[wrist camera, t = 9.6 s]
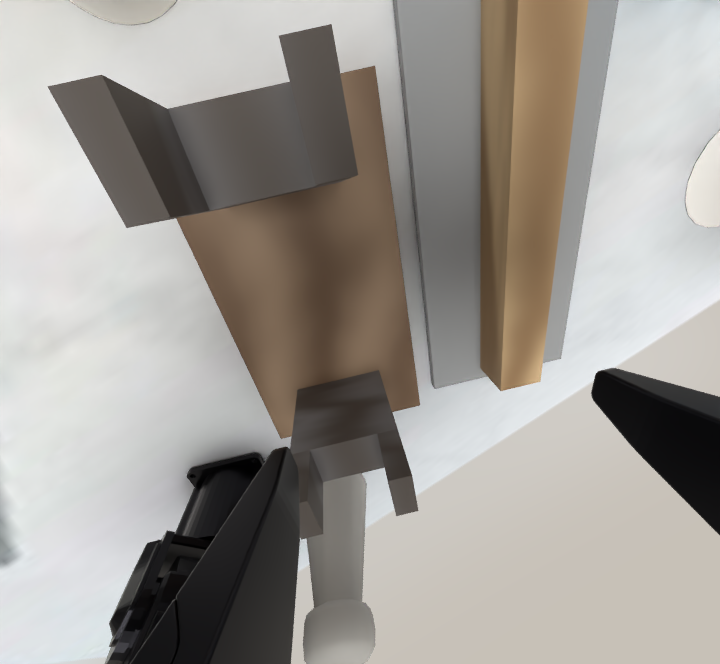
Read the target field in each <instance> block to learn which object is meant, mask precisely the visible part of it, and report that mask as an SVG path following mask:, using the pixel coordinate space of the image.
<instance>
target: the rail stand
mask: <svg viewBox="0 0 720 664" xmlns="http://www.w3.org/2000/svg"><path fill="white" fill-rule="evenodd" d="M279 38H280V43H281V47H282V51H283V55H284V59H285V63H286V67H287V71H288V75H289V79H290V82H287V83H282V84H278V85H273V86H269V87H264V88H260V89H255V90H251V91H246V92H242V93H237V94H233V95H228V96H224V97H219V98H215V99H210V100H206V101H202V102H197V103H193V104H188V105H184V106H179V107H175V108H170V109H166V108H164V107H163V106H161V105H159V104H157V103H155V102H153V101H151V100H149V99H147V98H145V97H143V96H141V95H139V94H137V93H136V92H134V91H132V90H130V89H128V88H126V87H124V86H122V85H120V84H118V83H116V82H114V81H112V80H111V79H109V78H107V77H105V76H103V75H98V76H94V77H89V78H85V79H80V80H76V81H71V82H67V83H62V84H58V85H53V86H48V88H49V90H50V92H51V94H52V95H53V97H54V99H55V101H56V102H57V104H58V106H59V108H60V110H61V111H62V113H63V115H64V117H65V119H66V120H67V122H68V124H69V126H70V127H71V129H72V131H73V133H74V135H75V136H76V138H77V140H78V142H79V144H80V145H81V147H82V149H83V151H84V152H85V154H86V156H87V158H88V160H89V161H90V163H91V165H92V167H93V169H94V170H95V172H96V174H97V176H98V177H99V179H100V181H101V183H102V185H103V186H104V188H105V190H106V192H107V193H108V195H109V197H110V199H111V201H112V202H113V204H114V206H115V208H116V210H117V211H118V213H119V215H120V217H121V218H122V220H123V222H124V224H125V226H126V227H127V228H129V227H134V226H139V225H144V224H149V223H154V222H159V221H164V220H169V219H174V218H176V219H177V221H178V223H179V225H180V227H181V229H182V231H183V233H184V236H185V238H186V240H187V242H188V244H189V246H190V248H191V250H192V252H193V254H194V257H195V259H196V261H197V263H198V265H199V267H200V269H201V271H202V273H203V276H204V278H205V280H206V282H207V284H208V286H209V288H210V290H211V292H212V295H213V297H214V299H215V301H216V303H217V305H218V307H219V309H220V311H221V313H222V316H223V318H224V320H225V322H226V324H227V326H228V328H229V330H230V332H231V335H232V337H233V339H234V341H235V343H236V345H237V347H238V349H239V351H240V354H241V356H242V358H243V360H244V362H245V364H246V366H247V368H248V370H249V372H250V375H251V377H252V379H253V381H254V383H255V385H256V387H257V389H258V391H259V394H260V396H261V398H262V400H263V402H264V404H265V406H266V408H267V410H268V412H269V415H270V417H271V419H272V421H273V423H274V425H275V427H276V429H277V431H278V434H279V436H280V438H281V439H282V438H286V437H290V436H292V439H291V447H290V451H291V453H292V455H293V458H294V460H295V462H296V464H297V467H298V473H299V505H300V538H301V539H305V538H309V537H314V536H318V535H322V534H323V482H326V481H330V480H334V479H339V478H343V477H347V476H351V475H355V474H359V473H363V472H367V471H371V470H375V469H380V468H384V467H385V471H386V475H387V479H388V484H389V488H390V492H391V496H392V500H393V504H394V508H395V512H396V516H399V515H403V514H406V513H411V512H415V511H418V507H417V501H416V495H415V490H414V484H413V478H412V474H411V471H410V468H409V464H408V461H407V458H406V455H405V452H404V449H403V445H402V442H401V439H400V436H399V433H398V429H397V426H396V423H395V420H394V417H393V413H392V412H394V411H398V410H402V409H407V408H411V407H415V406H419V405H420V401H419V393H418V386H417V378H416V371H415V363H414V356H413V348H412V341H411V333H410V326H409V318H408V311H407V303H406V296H405V288H404V281H403V273H402V266H401V258H400V251H399V243H398V236H397V228H396V220H395V213H394V205H393V198H392V190H391V183H390V175H389V168H388V160H387V153H386V145H385V138H384V130H383V123H382V115H381V108H380V100H379V93H378V85H377V78H376V70H375V66H372V67H367V68H363V69H358V70H354V71H350V72H345V73H341V74H340V70H339V64H338V58H337V53H336V47H335V42H334V36H333V30H332V25H331V24H330V25H326V26H321V27H317V28H312V29H308V30H303V31H298V32H294V33H289V34H285V35H280V36H279Z"/></svg>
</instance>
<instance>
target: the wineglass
mask: <svg viewBox="0 0 720 664" xmlns="http://www.w3.org/2000/svg"><path fill="white" fill-rule="evenodd" d="M685 203H686V208H687V212H688V215H689V217H690V218H691V219H692V220H693V221H694V222H695V224H698V225H701V226H704V227H707V228H708V227H717V226H720V130H719V132H718V133H717V134H716V135H715V136H714V137H713V138H712V139H711V140H710V141H709V143H708V144H707V146H706V147H705V149H704V151H703V152H702V154H701V155H700V157H699V158H698V160H697V162H696V163H695V166H694V168H693V171H692V173H691V176H690V178H689V181H688V184H687V191H686V198H685Z"/></svg>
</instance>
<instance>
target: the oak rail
mask: <svg viewBox="0 0 720 664" xmlns="http://www.w3.org/2000/svg"><path fill="white" fill-rule="evenodd" d="M588 1H589V0H481V208H480V368H481V369H482V371H483V372H484V373H485V374H486V375H487V376H488V377H489V378H490V380H491V381H492V382H493V383H494V384H495V385H496V386H497V387H498V389H499V390H500V391H503V390H507V389H511V388H515V387H520V386H524V385H528V384H532V383H536V382H540V380H541V372H542V364H543V356H544V348H545V340H546V332H547V324H548V317H549V309H550V301H551V293H552V285H553V277H554V269H555V261H556V253H557V246H558V238H559V230H560V222H561V214H562V206H563V198H564V190H565V182H566V175H567V167H568V159H569V151H570V143H571V135H572V127H573V119H574V112H575V104H576V96H577V88H578V80H579V72H580V64H581V56H582V48H583V41H584V33H585V25H586V17H587V9H588Z"/></svg>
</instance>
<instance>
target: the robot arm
mask: <svg viewBox="0 0 720 664" xmlns="http://www.w3.org/2000/svg"><path fill="white" fill-rule="evenodd" d="M591 394H592V398H593V400H594V402H595V403H596V404H597V405H598V407H599V408H600V409H601V410H602V411H603V413H604V414H605V415H606V416H607V417H608V418H609V420H610V421H611V422H612V423H613V425H614V426H615V427H616V428H617V429H618V430H619V432H620V433H621V434H622V435H623V436H624V438H625V439H626V440H627V441H628V442H629V443H630V445H631V446H632V447H633V448H634V449H635V450H636V451H637V452H638V453H639V454H640V455H641V456H642V458H643V459H644V460H645V461H647V463H648V464H649V465H650V466H651V467H652V468H654V469H655V471H656V472H657V473H658V474H659V475H661V477H662V478H663V479H664V480H665V481H666V482H667V483H668V484H669V485H670V486H671V487H672V488H673V489H674V490H675V491H676V492H677V493H678V494H679V495H680V496H681V497H682V498H683V499H684V500H685V501H686V502H687V503H688V504H689V505H690V506H691V507H692V508H693V509H694V510H695V511H696V512H697V513H698V514H699V515H700V516H701V517H702V518H703V519H704V520H705V521H706V522H707V523H708V524H709V525H710V526H711V527H712V528H713V529H714V530H715V531H716V532H717V533H718V534H719V535H720V397H718V396H715V395H711V394H707V393H704V392H700V391H696V390H693V389H689V388H685V387H682V386H678V385H674V384H671V383H667V382H664V381H660V380H656V379H653V378H649V377H646V376H642V375H638V374H635V373H631V372H627V371H624V370H620V369H616V368H610V369H605V370H601V371H598V372H597V373H596V375H595V379H594V383H593V387H592V392H591ZM254 459H255V460H254ZM187 478H188V479H189V480H190V482H191V483H192V484H193V485H194V487H195V488H194V490H193V493H192V495H191V497H190V500H189V502H188V504H187V507H186V509H185V511H184V514H183V516H182V518H181V521H180V523H179V525H178V528H177V530H176V532H172V531H166V533H165V535H164V536H163V538H162V540H158V541H154V542H150V543H147V545H146V546H145V548H144V550H143V552H142V554H141V556H140V558H139V560H138V562H137V564H136V567H135V569H134V571H133V573H132V575H131V577H130V579H129V581H128V583H127V585H126V587H125V590H124V592H123V594H122V596H121V598H120V601H119V603H118V605H117V607H116V609H115V612H114V614H113V616H112V618H111V620H110V623H109V625H110V628H111V632H112V636H113V637H112V639H111V642H110V645H109V647H111V649H110V651H109V654H108V656H107V659H106V662H105V664H291V652H292V638H293V624H294V611H295V598H296V597H295V596H296V584H297V570H298V556H299V543H300V505H299V473H298V467H297V464H296V462H295V460H294V458H293V455H292V453H291V451H290V449H289V448H288V447H283V448H279V449H275V450H273V451H272V452H271V454H270V455H269V457H268V458H267V460H266V461H265V463H264V462H263V460H262V458H261V457H260V455H258V454H250V455H246V456H242V457H238V458H234V459H230V460H225V461H221V462H217V463H213V464H209V465H205V466H201V467H196V468H192V469H190V470H189V472H188V474H187Z"/></svg>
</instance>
